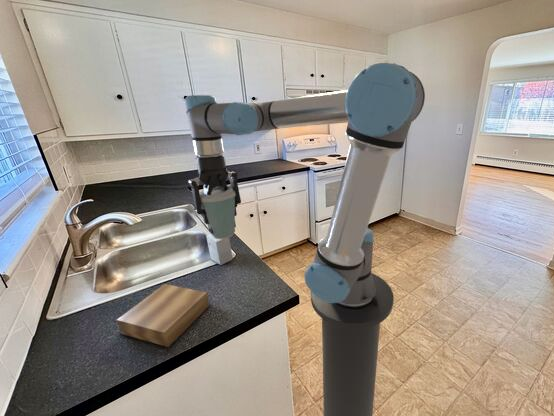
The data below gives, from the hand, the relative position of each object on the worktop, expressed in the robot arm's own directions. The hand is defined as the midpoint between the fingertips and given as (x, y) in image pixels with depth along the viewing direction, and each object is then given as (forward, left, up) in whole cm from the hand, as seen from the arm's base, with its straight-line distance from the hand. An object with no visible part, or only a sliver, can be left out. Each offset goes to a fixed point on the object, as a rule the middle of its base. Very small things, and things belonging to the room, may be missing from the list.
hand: (222, 229), depth 83 cm
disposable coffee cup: (0, 0, -2) cm, 2 cm away
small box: (+15, -15, -22) cm, 31 cm away
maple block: (+10, +17, -22) cm, 30 cm away
